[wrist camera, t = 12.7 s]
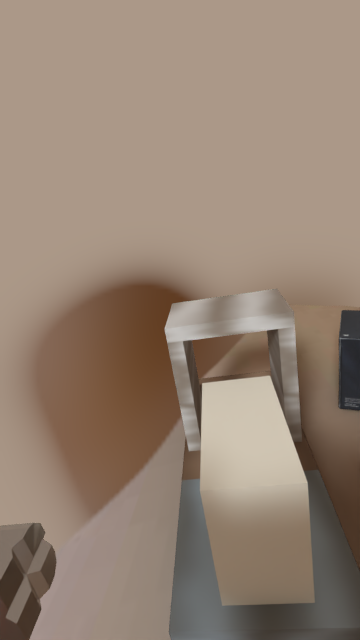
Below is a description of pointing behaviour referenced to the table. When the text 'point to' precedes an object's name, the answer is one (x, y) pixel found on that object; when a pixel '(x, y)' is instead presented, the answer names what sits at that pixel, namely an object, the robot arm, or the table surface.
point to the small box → (349, 360)
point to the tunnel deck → (192, 537)
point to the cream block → (254, 496)
